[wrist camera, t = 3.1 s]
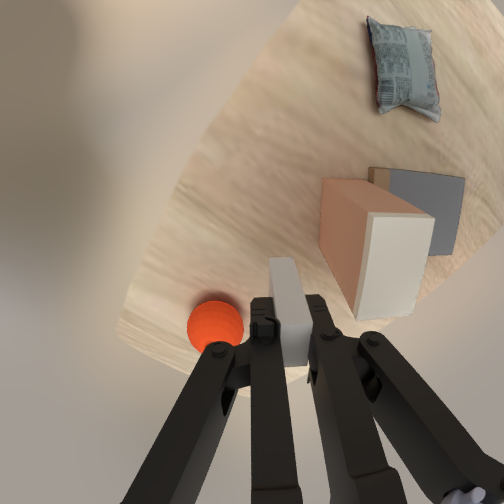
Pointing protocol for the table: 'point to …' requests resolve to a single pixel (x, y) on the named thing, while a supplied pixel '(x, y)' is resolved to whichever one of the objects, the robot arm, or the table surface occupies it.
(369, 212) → the terracotta block
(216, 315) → the clementine
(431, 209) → the mat
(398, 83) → the packaged food
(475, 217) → the table surface
